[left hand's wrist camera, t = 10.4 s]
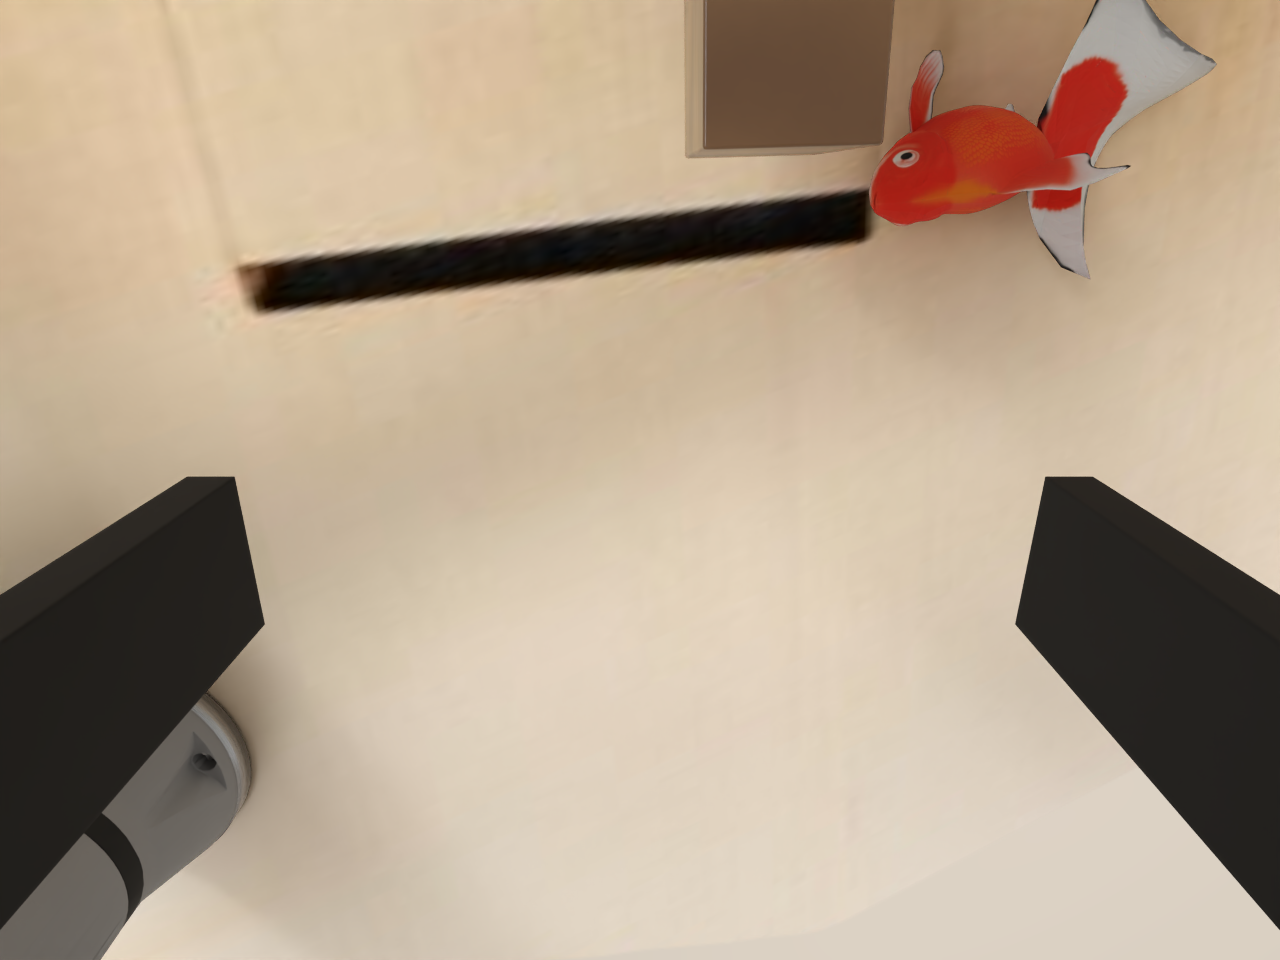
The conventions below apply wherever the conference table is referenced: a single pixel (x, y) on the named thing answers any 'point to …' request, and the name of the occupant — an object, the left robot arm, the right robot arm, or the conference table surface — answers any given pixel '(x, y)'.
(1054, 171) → the fish
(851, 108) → the bar
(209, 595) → the left robot arm
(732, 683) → the conference table surface
